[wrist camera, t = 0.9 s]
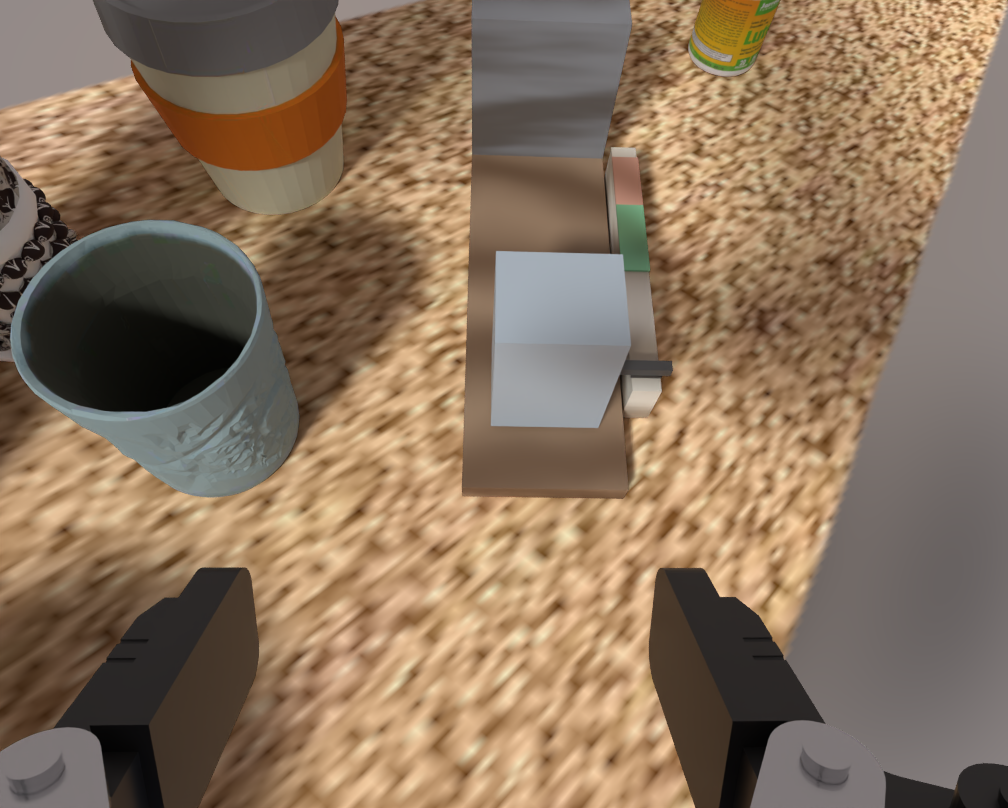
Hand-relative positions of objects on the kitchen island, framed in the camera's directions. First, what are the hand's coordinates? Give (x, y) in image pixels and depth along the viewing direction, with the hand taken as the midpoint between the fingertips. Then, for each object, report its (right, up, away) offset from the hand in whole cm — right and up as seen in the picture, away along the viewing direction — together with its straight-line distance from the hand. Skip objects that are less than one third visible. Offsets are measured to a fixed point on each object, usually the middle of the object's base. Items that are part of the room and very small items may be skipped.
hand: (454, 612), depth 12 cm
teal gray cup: (-15, +2, +28) cm, 32 cm away
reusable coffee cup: (-15, +20, +37) cm, 44 cm away
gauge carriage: (+5, +6, +28) cm, 29 cm away
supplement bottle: (+18, +31, +43) cm, 57 cm away
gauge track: (+3, +11, +33) cm, 35 cm away
